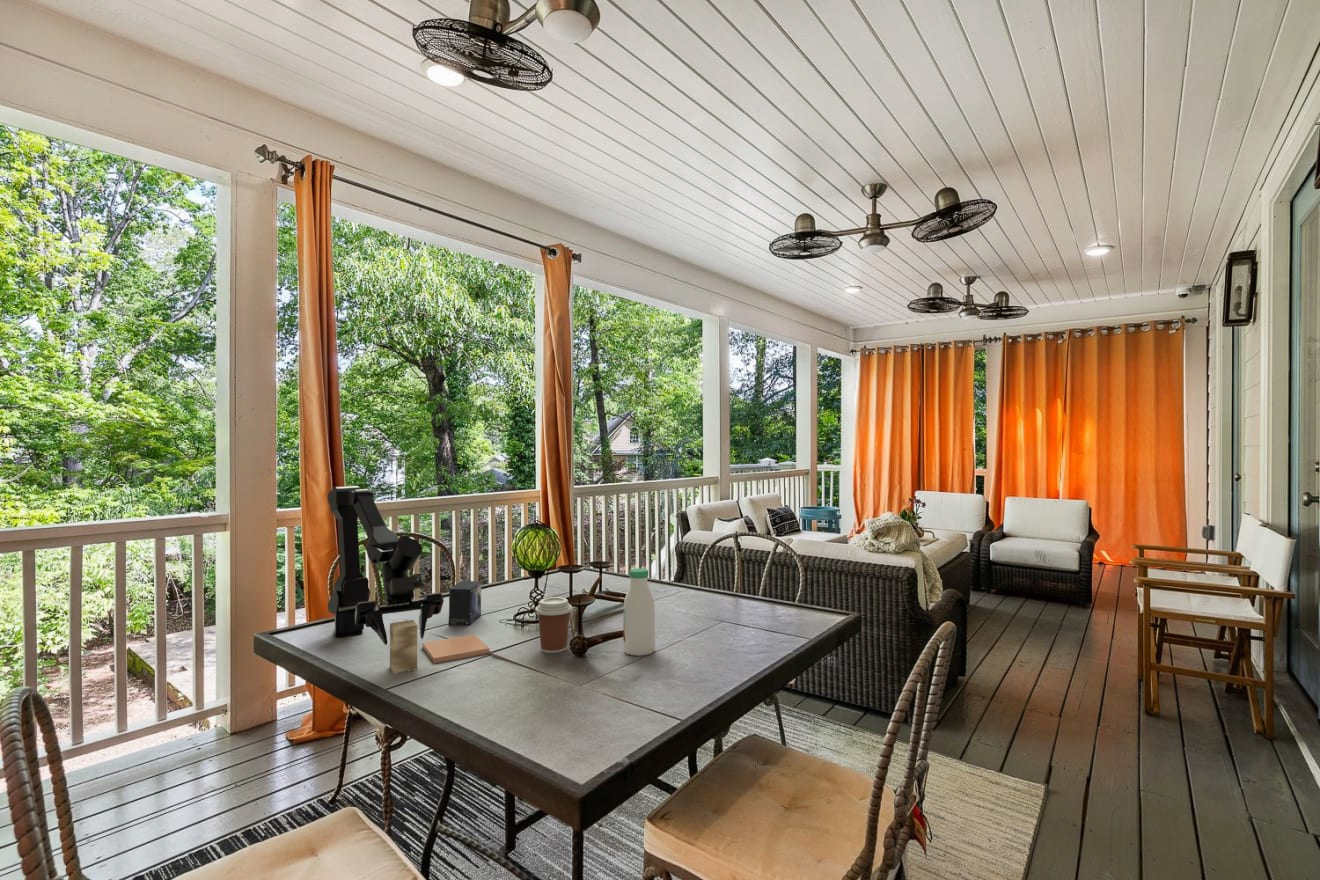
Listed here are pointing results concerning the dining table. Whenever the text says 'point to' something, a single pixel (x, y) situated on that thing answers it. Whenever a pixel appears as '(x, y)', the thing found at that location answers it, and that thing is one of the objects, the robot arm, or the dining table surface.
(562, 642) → the coffee cup
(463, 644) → the terracotta tile
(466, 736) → the dining table surface
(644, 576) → the milk bottle
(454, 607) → the small box
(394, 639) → the maple block
